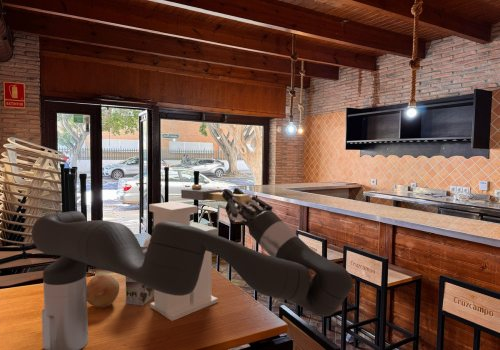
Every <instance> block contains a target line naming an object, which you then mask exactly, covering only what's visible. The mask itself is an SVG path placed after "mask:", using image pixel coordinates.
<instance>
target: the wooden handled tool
mask: <svg viewBox="0 0 500 350" xmlns="http://www.w3.org/2000/svg"><path fill="white" fill-rule="evenodd" d="M180 193H181V196H180V197H181V199H185V200H194V201H216V202H223V203H227V201H226V200H225V199H224V198H223V197H222V194H223V192H222V189H220V188H219V189H217V188H216V189H215V188H206V187H205V188H203V187H202V184H192V185H191V188H186V189H185V188H184V189H180ZM232 194H233V193H232ZM233 195H234V196H235V198H237V199H238V200H239V201H240V202H242V201H244V202H245V203H247V202H249V201H250V199H249V196H250V194H245V193H244V194H233Z"/></svg>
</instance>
